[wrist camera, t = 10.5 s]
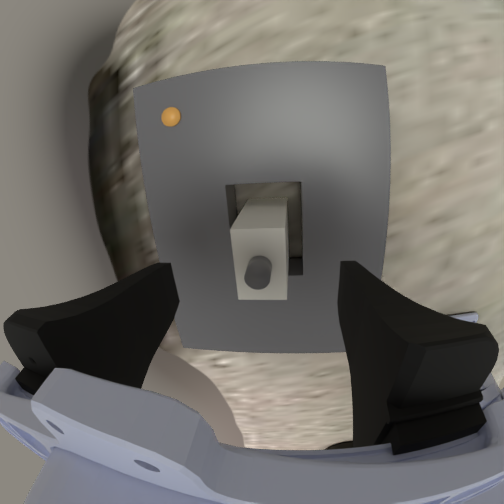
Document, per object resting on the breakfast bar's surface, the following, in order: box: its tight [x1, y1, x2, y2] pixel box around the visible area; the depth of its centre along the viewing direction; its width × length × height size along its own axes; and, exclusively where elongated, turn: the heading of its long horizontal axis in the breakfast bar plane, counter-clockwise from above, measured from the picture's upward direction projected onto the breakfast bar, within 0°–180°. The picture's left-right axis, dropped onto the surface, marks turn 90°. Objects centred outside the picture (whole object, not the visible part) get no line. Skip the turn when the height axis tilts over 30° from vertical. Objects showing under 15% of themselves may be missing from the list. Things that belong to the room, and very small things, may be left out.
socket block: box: [133, 61, 391, 353], centre depth 18 cm, size 20×15×3 cm
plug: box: [230, 197, 289, 300], centre depth 16 cm, size 4×3×7 cm, turn 5°
